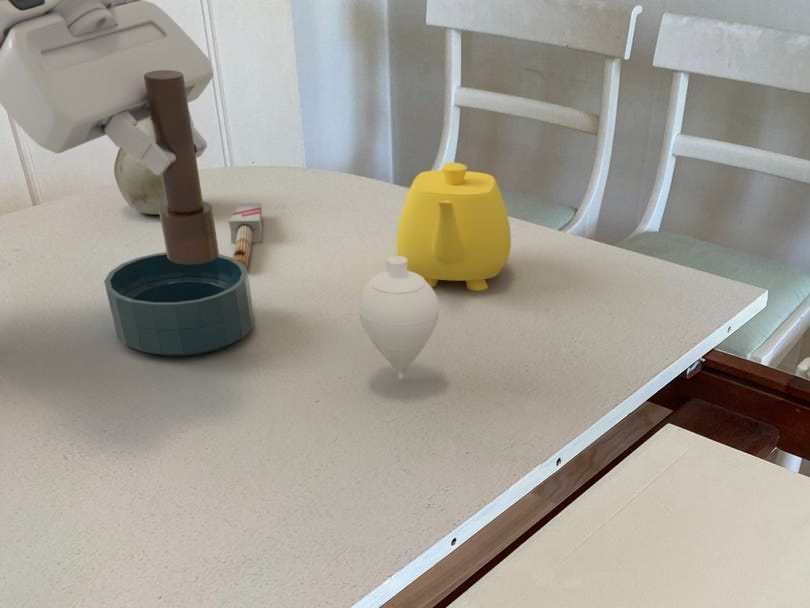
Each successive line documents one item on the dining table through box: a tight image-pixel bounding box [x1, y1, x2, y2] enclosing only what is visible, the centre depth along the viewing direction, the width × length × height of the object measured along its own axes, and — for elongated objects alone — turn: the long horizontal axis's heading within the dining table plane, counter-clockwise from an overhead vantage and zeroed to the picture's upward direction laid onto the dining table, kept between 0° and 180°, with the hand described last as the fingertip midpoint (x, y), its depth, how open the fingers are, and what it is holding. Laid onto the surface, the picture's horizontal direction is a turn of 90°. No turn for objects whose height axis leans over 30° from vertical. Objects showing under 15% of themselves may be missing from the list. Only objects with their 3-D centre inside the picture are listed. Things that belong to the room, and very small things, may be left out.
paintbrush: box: [228, 202, 263, 271], centre depth 123 cm, size 4×3×20 cm
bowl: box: [103, 251, 255, 357], centre depth 102 cm, size 14×14×6 cm
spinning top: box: [357, 255, 440, 381], centre depth 93 cm, size 8×8×12 cm
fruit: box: [113, 117, 166, 216], centre depth 128 cm, size 10×9×12 cm
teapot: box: [396, 162, 512, 292], centre depth 113 cm, size 13×20×12 cm
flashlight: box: [144, 70, 220, 265], centre depth 80 cm, size 4×4×14 cm
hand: (183, 161), depth 80 cm, fingers closed on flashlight, 3 cm apart
